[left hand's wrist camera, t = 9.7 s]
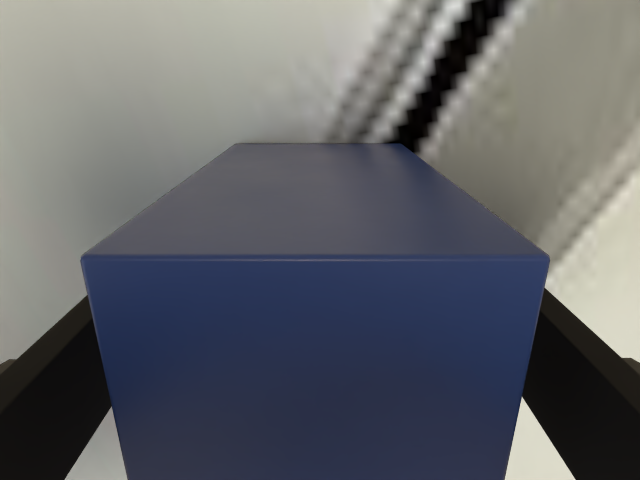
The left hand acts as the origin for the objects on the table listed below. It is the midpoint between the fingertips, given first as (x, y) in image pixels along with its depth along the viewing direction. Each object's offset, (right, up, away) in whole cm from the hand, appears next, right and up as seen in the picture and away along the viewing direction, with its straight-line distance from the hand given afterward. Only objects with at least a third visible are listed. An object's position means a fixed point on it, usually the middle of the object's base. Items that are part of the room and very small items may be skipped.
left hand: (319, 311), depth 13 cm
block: (0, +2, +5) cm, 6 cm away
